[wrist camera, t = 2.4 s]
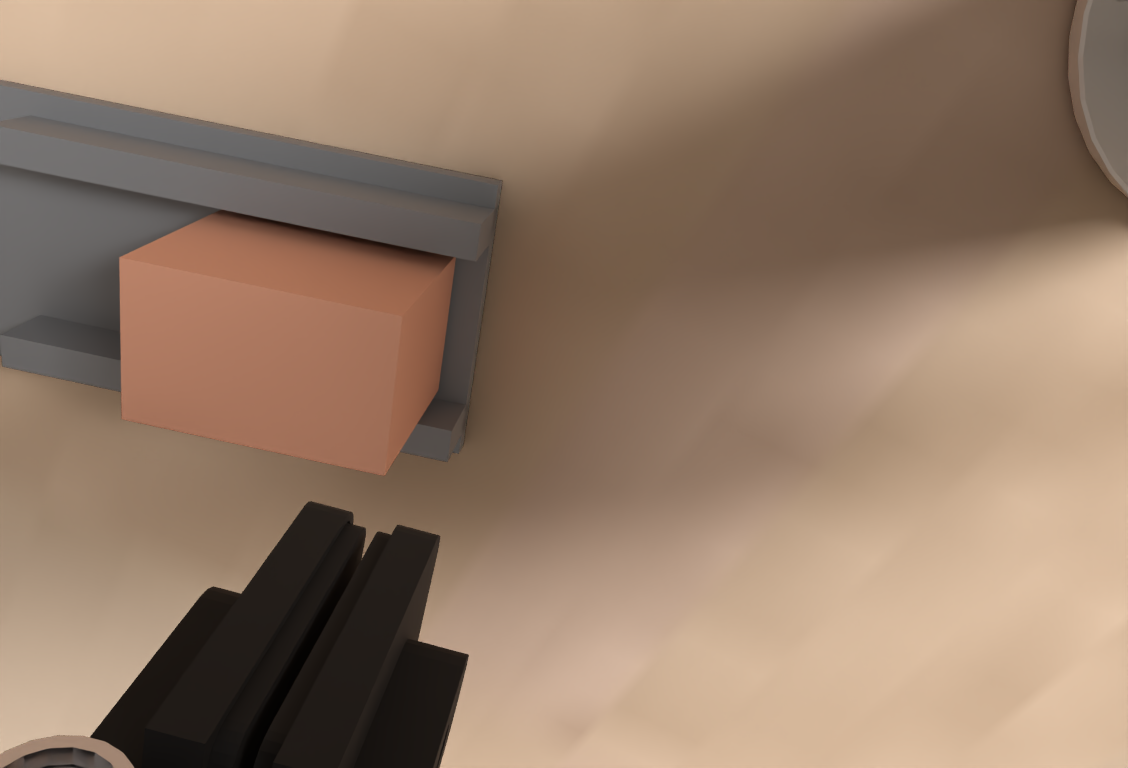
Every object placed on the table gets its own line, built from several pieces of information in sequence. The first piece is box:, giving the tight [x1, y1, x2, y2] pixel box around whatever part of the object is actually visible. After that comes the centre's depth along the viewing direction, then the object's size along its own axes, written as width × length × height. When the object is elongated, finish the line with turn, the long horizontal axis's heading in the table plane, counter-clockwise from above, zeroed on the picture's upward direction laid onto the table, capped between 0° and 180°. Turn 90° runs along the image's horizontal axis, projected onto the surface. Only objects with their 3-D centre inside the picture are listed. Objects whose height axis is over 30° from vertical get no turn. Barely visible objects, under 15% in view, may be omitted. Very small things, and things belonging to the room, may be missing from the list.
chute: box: [0, 80, 502, 462], centre depth 33 cm, size 28×10×3 cm, turn 80°
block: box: [119, 209, 456, 476], centre depth 30 cm, size 8×5×6 cm, turn 80°
